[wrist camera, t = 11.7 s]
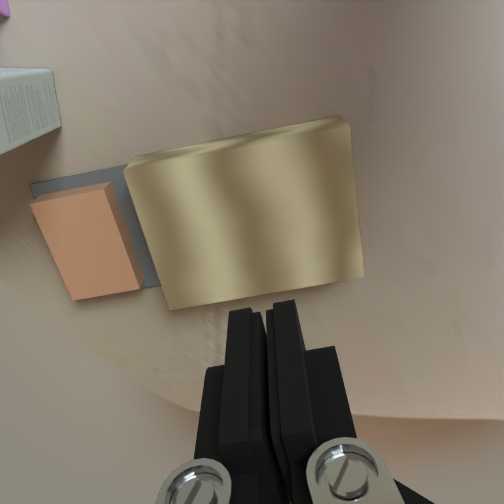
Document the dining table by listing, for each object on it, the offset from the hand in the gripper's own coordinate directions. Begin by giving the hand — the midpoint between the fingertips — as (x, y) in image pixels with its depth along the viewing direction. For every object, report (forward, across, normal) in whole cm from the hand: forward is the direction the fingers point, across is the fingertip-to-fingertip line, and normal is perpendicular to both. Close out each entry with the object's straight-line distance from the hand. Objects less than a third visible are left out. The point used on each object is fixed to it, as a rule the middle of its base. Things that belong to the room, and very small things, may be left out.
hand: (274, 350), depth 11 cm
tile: (+23, +16, +6) cm, 28 cm away
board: (+25, +2, +6) cm, 26 cm away
